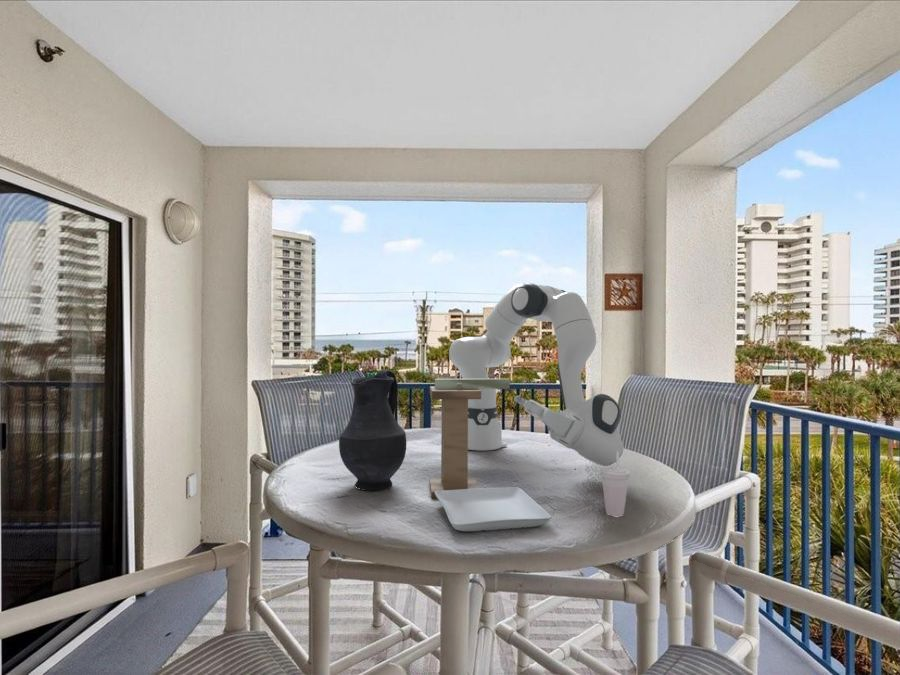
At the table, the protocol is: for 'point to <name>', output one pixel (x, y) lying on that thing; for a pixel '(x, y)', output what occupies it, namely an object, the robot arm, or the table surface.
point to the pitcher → (373, 432)
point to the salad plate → (491, 509)
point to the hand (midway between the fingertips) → (520, 400)
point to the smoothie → (615, 488)
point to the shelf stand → (454, 439)
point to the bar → (473, 383)
